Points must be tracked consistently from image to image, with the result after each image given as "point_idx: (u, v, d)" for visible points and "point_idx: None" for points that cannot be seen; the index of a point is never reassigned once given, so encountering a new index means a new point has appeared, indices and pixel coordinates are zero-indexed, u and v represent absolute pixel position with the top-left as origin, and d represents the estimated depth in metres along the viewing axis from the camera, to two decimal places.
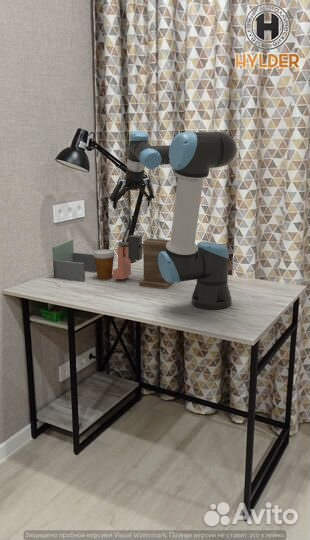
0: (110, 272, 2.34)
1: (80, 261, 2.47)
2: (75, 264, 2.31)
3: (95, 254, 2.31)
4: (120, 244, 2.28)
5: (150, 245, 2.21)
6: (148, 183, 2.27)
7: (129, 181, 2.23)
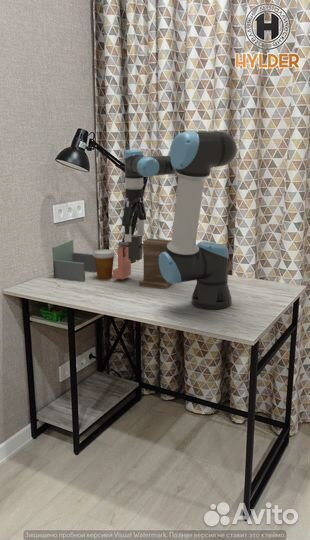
0: (110, 272, 2.34)
1: (80, 261, 2.47)
2: (75, 264, 2.31)
3: (95, 254, 2.31)
4: (120, 244, 2.28)
5: (150, 245, 2.21)
6: (142, 201, 2.28)
7: (134, 201, 2.19)
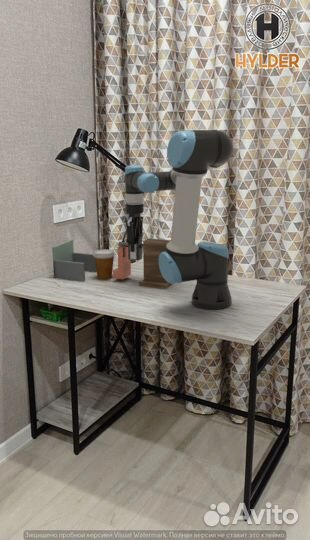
0: (110, 272, 2.34)
1: (80, 261, 2.47)
2: (75, 264, 2.31)
3: (95, 254, 2.31)
4: (120, 244, 2.28)
5: (150, 245, 2.21)
6: (142, 220, 2.29)
7: (134, 216, 2.21)
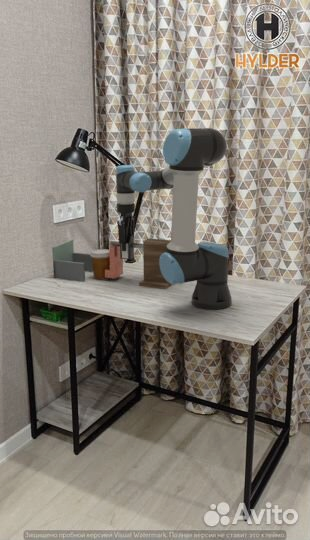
0: None
1: (80, 261, 2.47)
2: (75, 264, 2.31)
3: (92, 254, 2.32)
4: (112, 243, 2.30)
5: (150, 245, 2.21)
6: (133, 219, 2.30)
7: (125, 216, 2.22)
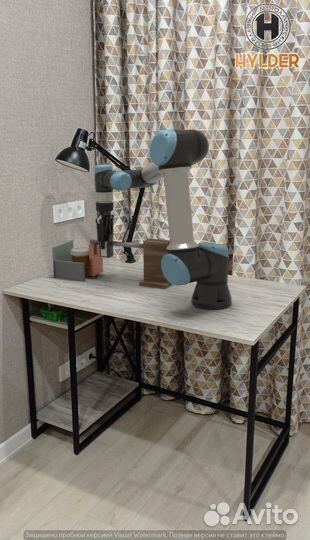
0: None
1: None
2: (75, 264, 2.31)
3: (72, 252, 2.35)
4: (92, 242, 2.33)
5: (150, 245, 2.21)
6: (113, 218, 2.34)
7: (104, 214, 2.25)
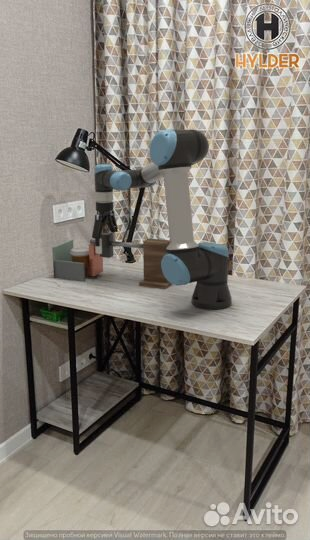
0: None
1: None
2: (75, 264, 2.31)
3: (72, 252, 2.35)
4: (92, 242, 2.33)
5: (150, 245, 2.21)
6: (113, 214, 2.34)
7: (104, 214, 2.26)
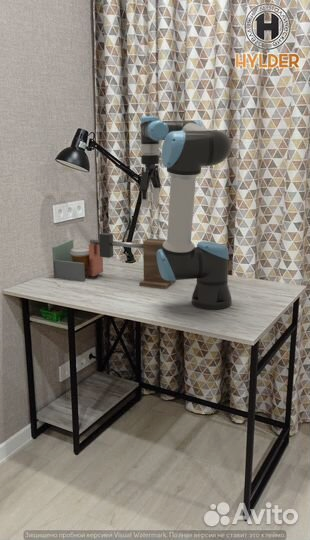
0: None
1: None
2: (75, 264, 2.31)
3: (72, 252, 2.35)
4: (92, 242, 2.33)
5: (150, 245, 2.21)
6: (157, 169, 2.31)
7: (150, 167, 2.22)
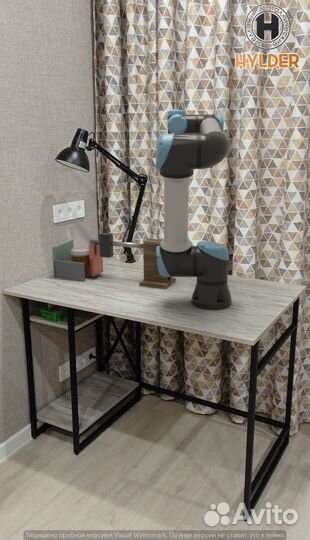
0: None
1: None
2: (75, 264, 2.31)
3: (72, 252, 2.35)
4: (92, 242, 2.33)
5: (150, 245, 2.21)
6: None
7: None
